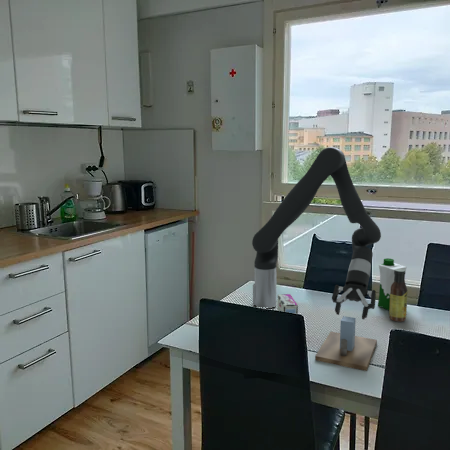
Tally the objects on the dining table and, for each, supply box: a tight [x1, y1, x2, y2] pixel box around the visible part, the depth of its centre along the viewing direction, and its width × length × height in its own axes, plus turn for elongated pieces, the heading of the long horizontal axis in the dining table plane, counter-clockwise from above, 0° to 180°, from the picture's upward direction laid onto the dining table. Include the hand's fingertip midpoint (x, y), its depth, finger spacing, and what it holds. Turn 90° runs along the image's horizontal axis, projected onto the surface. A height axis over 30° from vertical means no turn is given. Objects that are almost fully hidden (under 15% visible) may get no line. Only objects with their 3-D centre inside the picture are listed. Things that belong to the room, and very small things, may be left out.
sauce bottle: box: [388, 269, 409, 323], centre depth 170 cm, size 7×6×20 cm
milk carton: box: [377, 258, 407, 311], centre depth 182 cm, size 9×9×20 cm
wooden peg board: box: [314, 331, 378, 372], centre depth 146 cm, size 16×20×6 cm
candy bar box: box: [276, 293, 299, 314], centre depth 152 cm, size 11×5×16 cm, turn 5°
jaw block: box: [339, 315, 357, 351], centre depth 146 cm, size 4×4×10 cm
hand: (350, 316), depth 149 cm, fingers open, 8 cm apart
